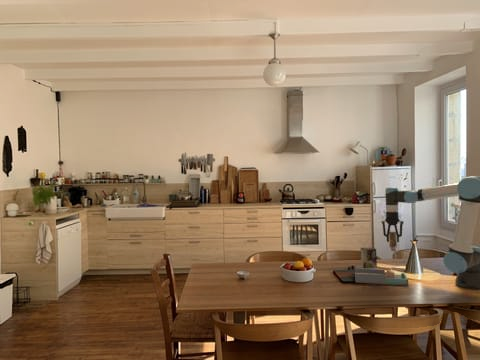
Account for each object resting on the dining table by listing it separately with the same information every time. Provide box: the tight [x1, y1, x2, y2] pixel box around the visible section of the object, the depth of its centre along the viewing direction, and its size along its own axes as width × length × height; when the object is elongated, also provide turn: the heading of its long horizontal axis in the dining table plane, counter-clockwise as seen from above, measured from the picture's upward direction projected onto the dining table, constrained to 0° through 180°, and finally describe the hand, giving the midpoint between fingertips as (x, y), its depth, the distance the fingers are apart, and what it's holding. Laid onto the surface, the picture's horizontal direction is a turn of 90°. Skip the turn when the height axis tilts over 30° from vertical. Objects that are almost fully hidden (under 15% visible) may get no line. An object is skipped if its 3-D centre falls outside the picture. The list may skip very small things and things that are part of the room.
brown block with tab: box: [389, 230, 397, 253], centre depth 235 cm, size 4×8×12 cm, turn 163°
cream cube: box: [394, 272, 402, 279], centre depth 222 cm, size 4×4×4 cm
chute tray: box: [385, 271, 409, 286], centre depth 222 cm, size 12×14×4 cm
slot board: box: [354, 267, 388, 285], centre depth 227 cm, size 18×14×6 cm
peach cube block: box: [385, 269, 396, 278], centre depth 223 cm, size 4×4×4 cm
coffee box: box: [360, 246, 378, 269], centre depth 245 cm, size 9×6×16 cm
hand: (392, 246), depth 235 cm, fingers closed on brown block with tab, 3 cm apart
